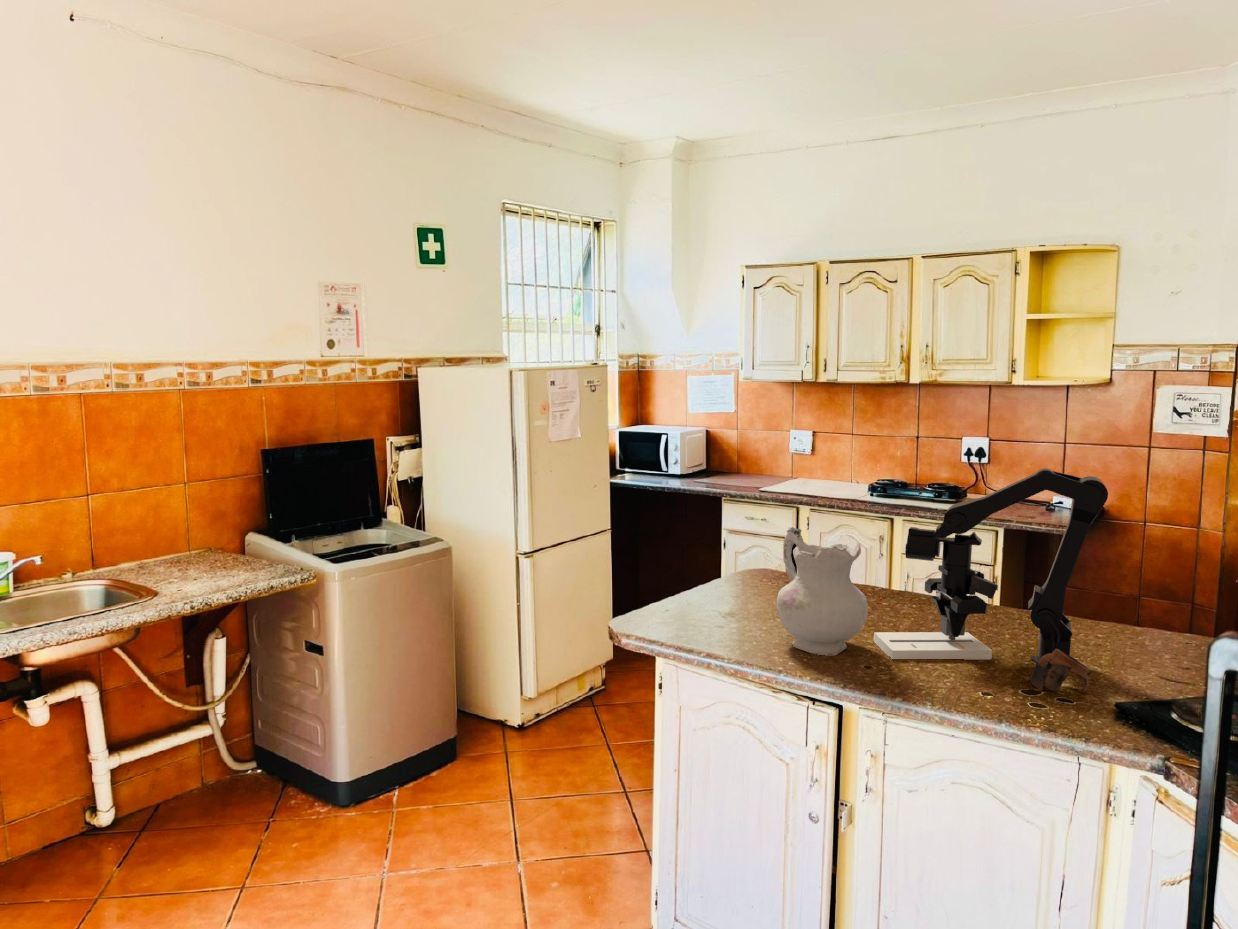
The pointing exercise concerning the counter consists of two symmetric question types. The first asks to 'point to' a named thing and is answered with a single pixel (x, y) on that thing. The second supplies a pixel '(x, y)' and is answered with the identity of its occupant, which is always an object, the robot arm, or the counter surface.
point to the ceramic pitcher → (820, 596)
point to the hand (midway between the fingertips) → (952, 634)
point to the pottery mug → (1057, 670)
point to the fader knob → (946, 627)
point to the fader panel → (931, 646)
